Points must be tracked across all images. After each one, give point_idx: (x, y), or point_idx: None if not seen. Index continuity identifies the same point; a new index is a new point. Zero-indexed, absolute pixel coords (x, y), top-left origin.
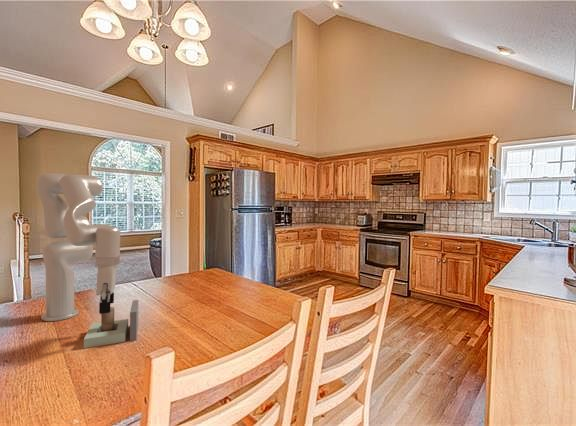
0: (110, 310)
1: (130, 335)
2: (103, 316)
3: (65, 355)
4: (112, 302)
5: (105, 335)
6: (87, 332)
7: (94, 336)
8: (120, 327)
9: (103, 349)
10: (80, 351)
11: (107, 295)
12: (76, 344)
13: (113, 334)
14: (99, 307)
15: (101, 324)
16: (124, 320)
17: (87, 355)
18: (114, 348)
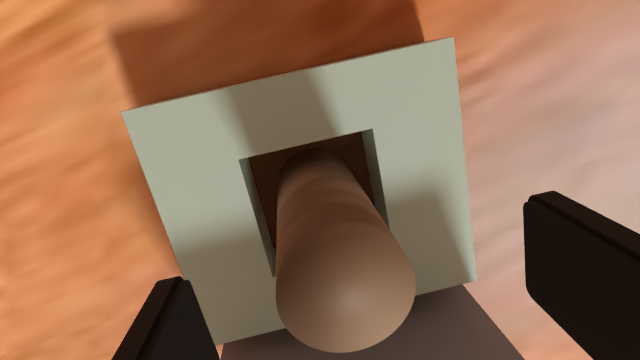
0: (296, 333)
1: (222, 356)
2: (279, 240)
3: (50, 23)
4: (531, 291)
5: (181, 241)
6: (252, 84)
7: (168, 171)
8: None
9: (132, 227)
10: (109, 99)
11: (621, 307)
12: (220, 21)
13: (193, 286)
14: (125, 336)
15: (300, 183)
16: (447, 267)
17: (53, 167)
18: (143, 280)
